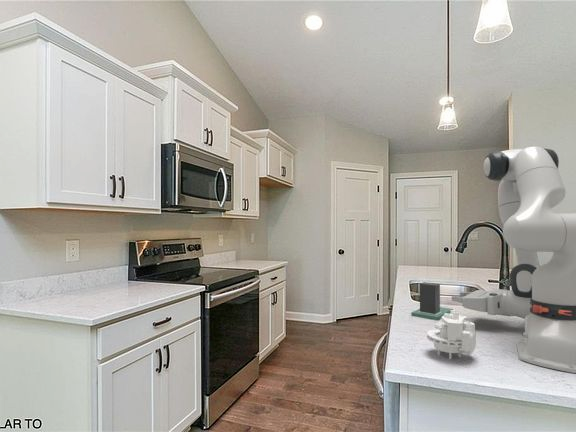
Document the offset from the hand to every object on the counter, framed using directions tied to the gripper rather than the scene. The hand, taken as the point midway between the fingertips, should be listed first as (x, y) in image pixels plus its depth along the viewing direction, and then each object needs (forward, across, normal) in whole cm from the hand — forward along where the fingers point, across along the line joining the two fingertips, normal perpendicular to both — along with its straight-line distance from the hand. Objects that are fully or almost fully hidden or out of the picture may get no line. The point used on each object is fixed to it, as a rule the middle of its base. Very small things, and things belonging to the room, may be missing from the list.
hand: (456, 296), depth 131 cm
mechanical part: (-10, +40, +9) cm, 42 cm away
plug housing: (+10, 0, +8) cm, 12 cm away
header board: (+10, -3, +9) cm, 14 cm away
